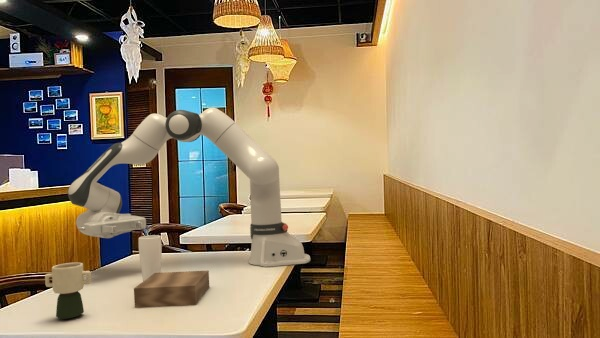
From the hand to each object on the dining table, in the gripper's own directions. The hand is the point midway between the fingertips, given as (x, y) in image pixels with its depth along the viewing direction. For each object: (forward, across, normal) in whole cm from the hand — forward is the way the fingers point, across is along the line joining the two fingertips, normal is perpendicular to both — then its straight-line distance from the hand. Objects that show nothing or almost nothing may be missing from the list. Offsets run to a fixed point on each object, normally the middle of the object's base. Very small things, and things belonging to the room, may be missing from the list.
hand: (127, 227), depth 159 cm
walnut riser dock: (+30, -4, +17) cm, 35 cm away
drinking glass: (+12, 0, +18) cm, 22 cm away
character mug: (+23, -30, +18) cm, 42 cm away
